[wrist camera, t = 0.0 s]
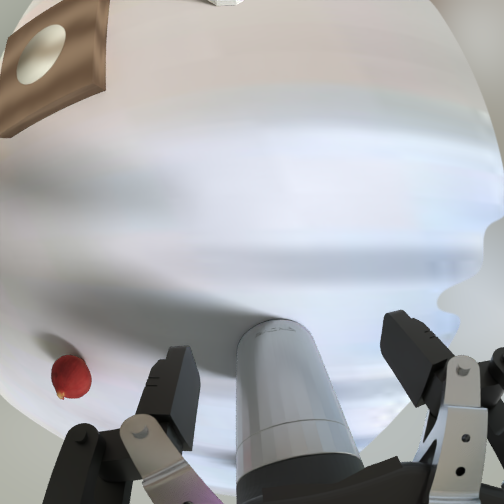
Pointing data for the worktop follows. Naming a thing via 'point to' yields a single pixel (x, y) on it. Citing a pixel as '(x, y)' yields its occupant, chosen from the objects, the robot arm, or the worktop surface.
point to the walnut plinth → (53, 63)
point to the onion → (70, 377)
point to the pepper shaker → (225, 2)
